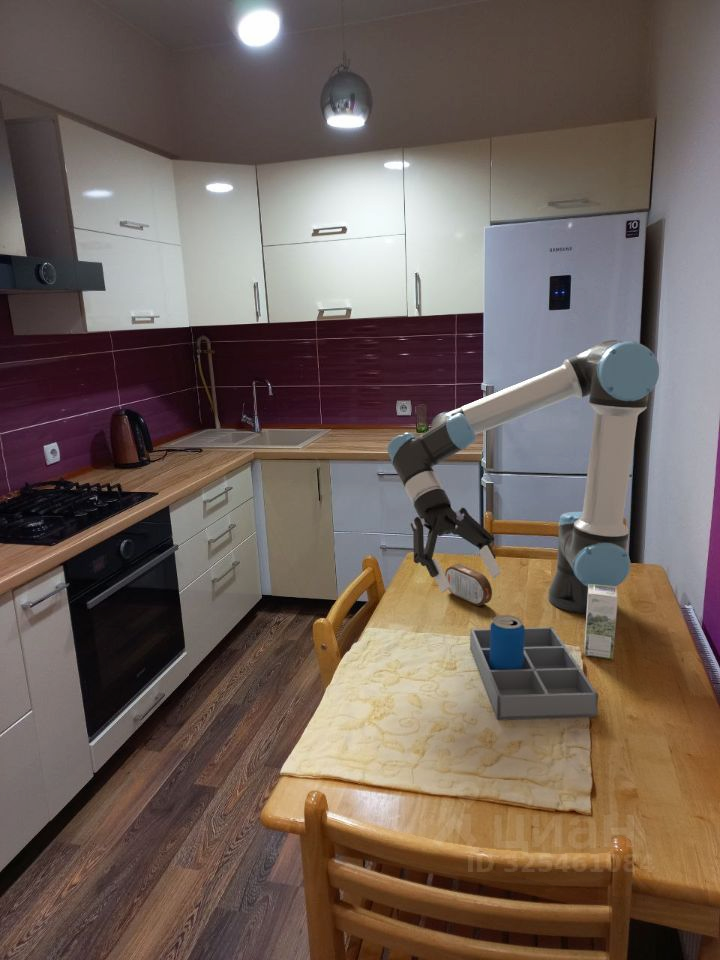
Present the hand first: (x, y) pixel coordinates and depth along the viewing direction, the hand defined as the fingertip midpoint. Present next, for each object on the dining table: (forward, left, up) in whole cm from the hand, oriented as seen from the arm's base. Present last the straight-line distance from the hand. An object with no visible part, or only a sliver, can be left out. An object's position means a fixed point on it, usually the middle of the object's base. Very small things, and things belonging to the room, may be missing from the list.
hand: (472, 582), depth 132 cm
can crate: (-10, +9, -17) cm, 22 cm away
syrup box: (-28, -1, -17) cm, 33 cm away
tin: (-5, -30, -17) cm, 35 cm away
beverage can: (-5, +9, -17) cm, 20 cm away
